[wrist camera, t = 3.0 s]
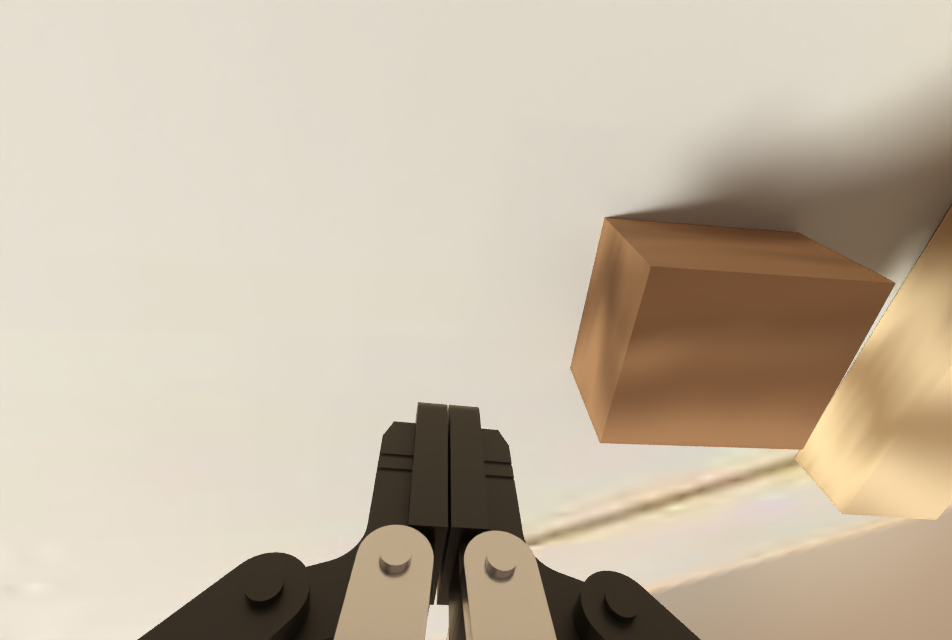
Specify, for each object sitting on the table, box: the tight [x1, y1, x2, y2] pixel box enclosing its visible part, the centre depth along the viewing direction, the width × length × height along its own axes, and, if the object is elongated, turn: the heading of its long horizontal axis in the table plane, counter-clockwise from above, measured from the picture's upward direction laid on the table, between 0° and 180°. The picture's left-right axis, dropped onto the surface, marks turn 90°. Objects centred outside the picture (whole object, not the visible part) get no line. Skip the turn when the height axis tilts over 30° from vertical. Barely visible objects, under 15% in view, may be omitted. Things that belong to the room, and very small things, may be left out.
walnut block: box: [570, 218, 895, 450], centre depth 19 cm, size 7×8×5 cm
